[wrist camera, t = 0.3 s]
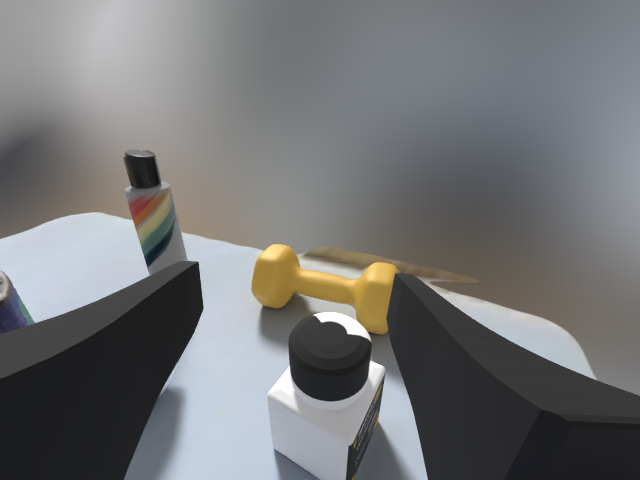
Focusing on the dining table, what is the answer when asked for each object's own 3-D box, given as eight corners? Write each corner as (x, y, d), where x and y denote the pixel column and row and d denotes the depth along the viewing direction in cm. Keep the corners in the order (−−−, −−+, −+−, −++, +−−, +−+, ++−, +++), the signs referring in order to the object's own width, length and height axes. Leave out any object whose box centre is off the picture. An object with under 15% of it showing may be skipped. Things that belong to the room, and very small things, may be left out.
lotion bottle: (159, 269, 51) (125, 147, 42) (194, 267, 52) (167, 146, 43) (146, 289, 46) (103, 155, 37) (185, 286, 47) (152, 155, 38)
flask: (8, 333, 38) (-38, 259, 33) (38, 321, 40) (-1, 250, 35) (17, 376, 32) (-36, 296, 28) (51, 360, 34) (8, 282, 29)
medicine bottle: (346, 499, 23) (355, 395, 17) (271, 448, 26) (258, 347, 21) (379, 419, 28) (394, 321, 23) (314, 385, 32) (313, 291, 26)
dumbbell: (248, 314, 41) (241, 263, 38) (278, 279, 49) (275, 233, 45) (387, 353, 36) (396, 297, 32) (398, 306, 43) (405, 256, 39)
